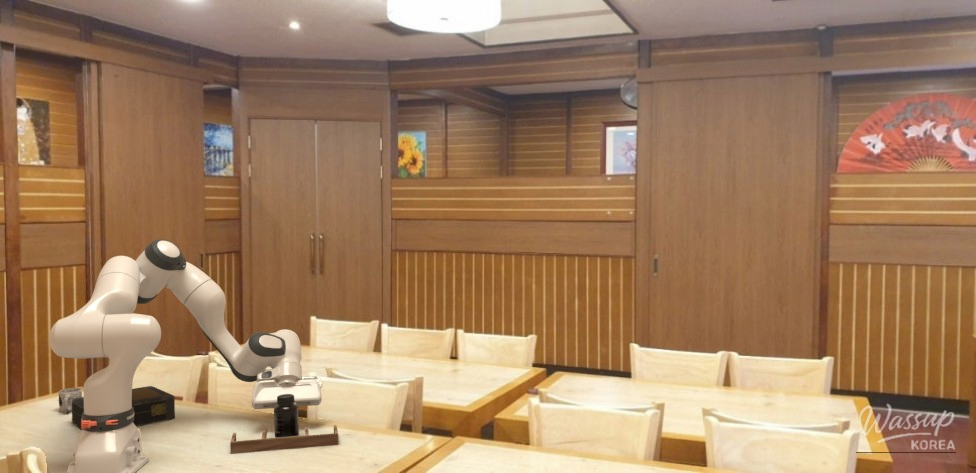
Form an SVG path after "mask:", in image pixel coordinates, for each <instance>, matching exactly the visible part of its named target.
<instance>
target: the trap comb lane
mask: <svg viewBox="0 0 976 473" xmlns="http://www.w3.org/2000/svg"><path fill="white" fill-rule="evenodd" d="M267 432H268V430H267V429H263V430H262V434H261V438H258V439H248V440H247V439H246V440H237V432H233V433H232V436H231V440H230V443H229V444H230V454H231V455H232V454H241V453H242V454H243V453H245V454H246V453H254V452H255V451H257V452H266V451H267V452H268V451H278V450H291V449H292V450H293V449H302V448H315V447H328V446H339V431H338V426H337V424H334V425H333V432H332V433H322V434H321V433H320V434H311V435H310V433H309V426H307V425H306V426H305V427H304V432H305V433H304V434H305V435H304V434H303V435H298V436H290V437H278V438H275V437H267Z"/></svg>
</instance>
